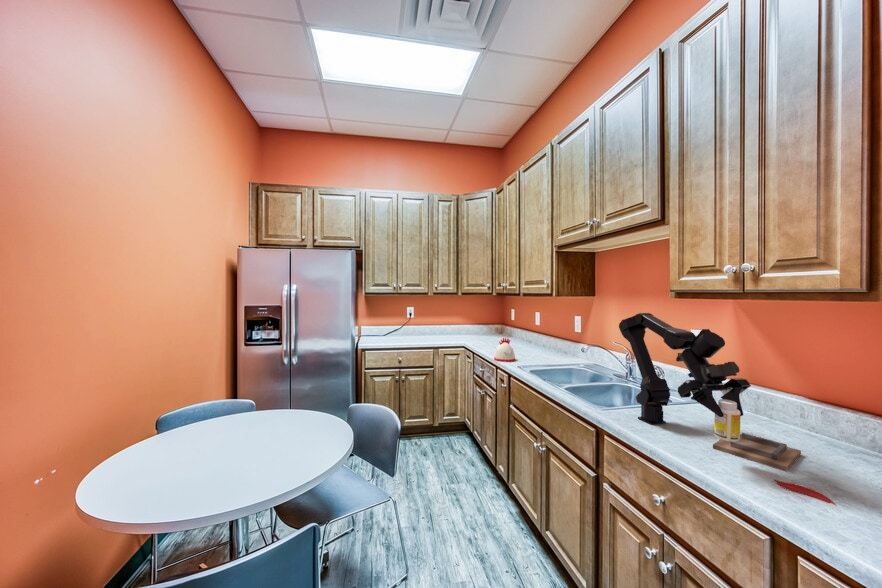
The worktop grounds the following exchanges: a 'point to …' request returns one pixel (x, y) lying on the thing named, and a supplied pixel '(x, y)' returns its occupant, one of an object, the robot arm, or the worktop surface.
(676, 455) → the worktop surface
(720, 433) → the supplement bottle
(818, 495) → the cayenne pepper
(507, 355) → the cream dome hat
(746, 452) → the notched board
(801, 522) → the worktop surface
